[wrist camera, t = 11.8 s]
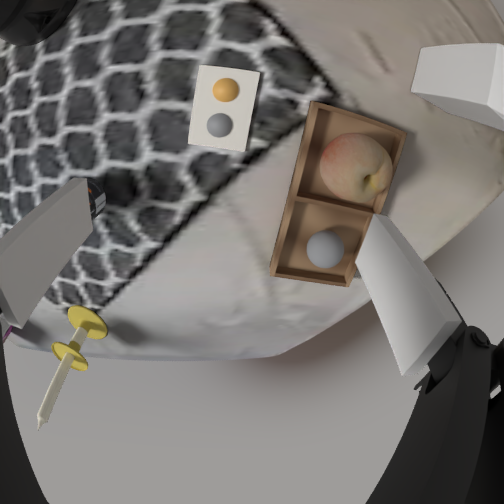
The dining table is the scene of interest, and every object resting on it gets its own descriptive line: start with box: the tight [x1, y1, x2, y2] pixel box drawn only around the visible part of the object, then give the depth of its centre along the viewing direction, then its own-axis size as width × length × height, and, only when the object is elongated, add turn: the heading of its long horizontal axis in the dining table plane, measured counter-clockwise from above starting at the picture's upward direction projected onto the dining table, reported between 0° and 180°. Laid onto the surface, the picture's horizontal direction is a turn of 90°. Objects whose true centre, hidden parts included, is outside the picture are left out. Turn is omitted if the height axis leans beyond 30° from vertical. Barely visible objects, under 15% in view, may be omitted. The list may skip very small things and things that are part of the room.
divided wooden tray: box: [270, 101, 407, 287], centre depth 35 cm, size 24×12×2 cm, turn 170°
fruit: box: [320, 133, 393, 203], centre depth 29 cm, size 8×8×8 cm
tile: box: [188, 65, 260, 152], centre depth 29 cm, size 10×7×1 cm
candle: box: [37, 305, 108, 430], centre depth 39 cm, size 10×10×27 cm
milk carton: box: [411, 43, 504, 131], centre depth 17 cm, size 7×7×19 cm
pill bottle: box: [87, 178, 106, 220], centre depth 31 cm, size 6×6×11 cm
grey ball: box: [307, 230, 344, 268], centre depth 36 cm, size 5×5×5 cm
